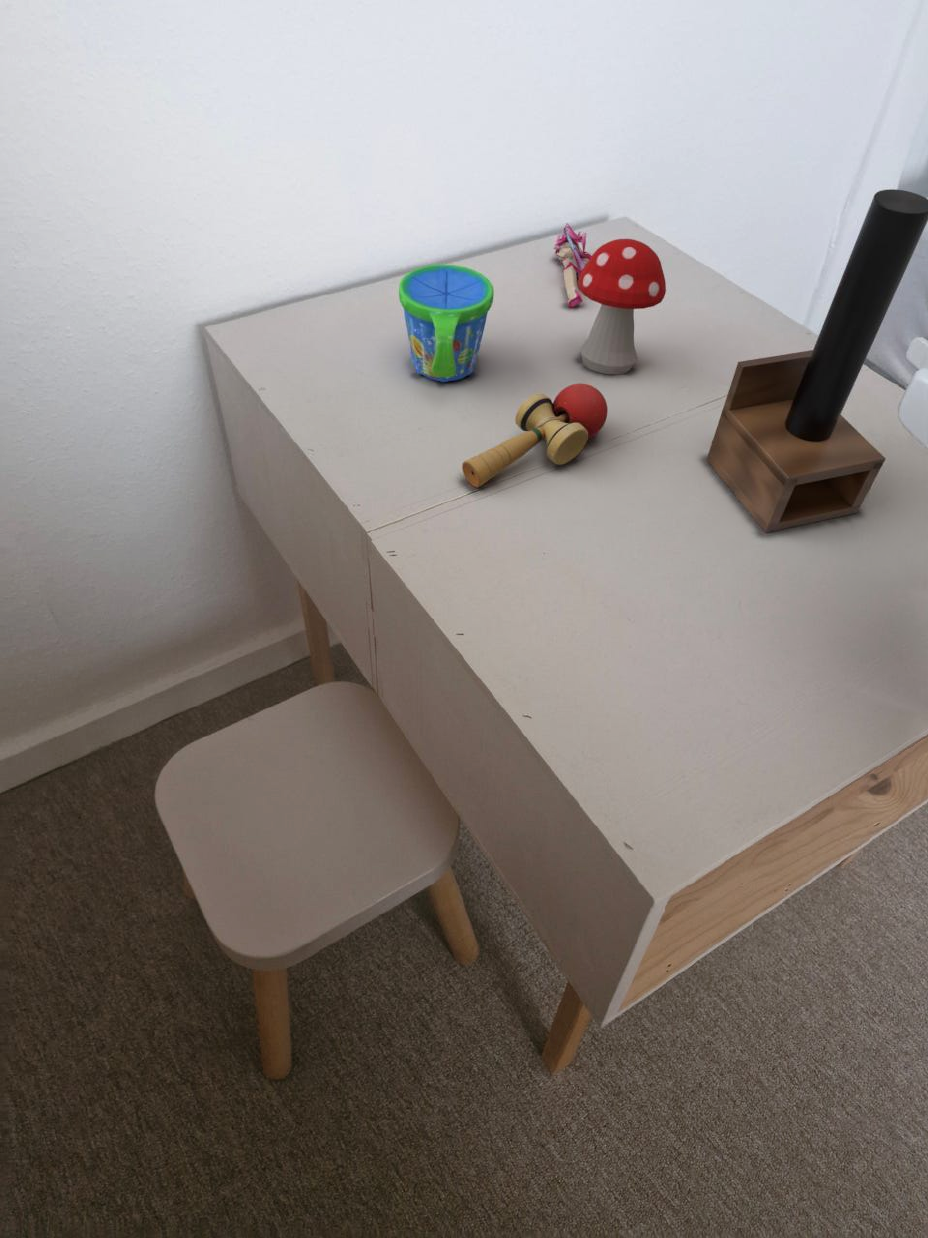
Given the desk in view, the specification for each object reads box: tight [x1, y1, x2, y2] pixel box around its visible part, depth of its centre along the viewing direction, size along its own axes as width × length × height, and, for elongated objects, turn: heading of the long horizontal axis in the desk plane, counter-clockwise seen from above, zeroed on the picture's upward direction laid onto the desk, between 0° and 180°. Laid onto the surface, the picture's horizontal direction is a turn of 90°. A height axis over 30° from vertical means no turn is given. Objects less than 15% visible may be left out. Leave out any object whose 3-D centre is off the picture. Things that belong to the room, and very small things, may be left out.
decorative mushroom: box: [577, 238, 667, 376], centre depth 98 cm, size 10×9×15 cm
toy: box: [553, 222, 592, 308], centre depth 115 cm, size 7×6×15 cm
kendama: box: [461, 382, 608, 489], centre depth 89 cm, size 8×6×18 cm
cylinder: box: [785, 188, 928, 442], centre depth 76 cm, size 5×5×22 cm
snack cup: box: [398, 264, 495, 383], centre depth 97 cm, size 16×10×10 cm
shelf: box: [706, 349, 886, 533], centre depth 85 cm, size 12×11×12 cm
